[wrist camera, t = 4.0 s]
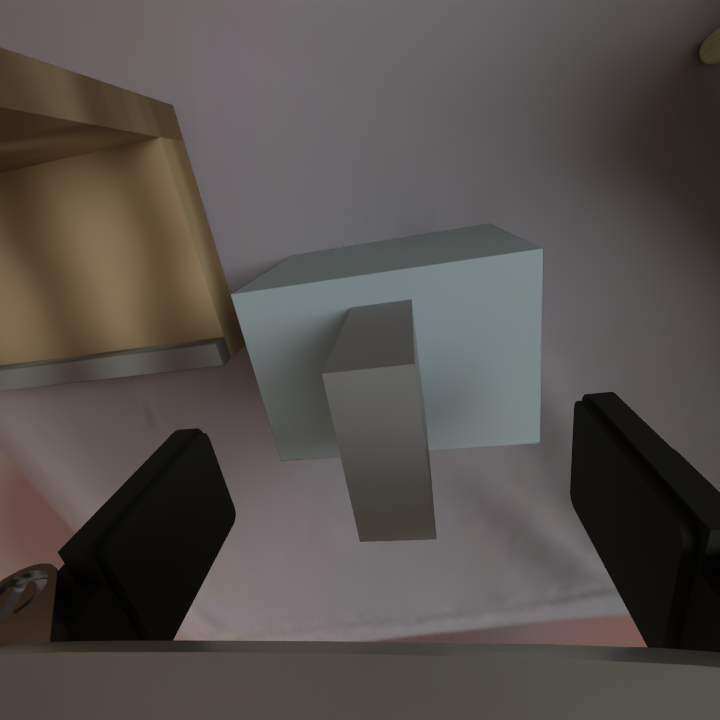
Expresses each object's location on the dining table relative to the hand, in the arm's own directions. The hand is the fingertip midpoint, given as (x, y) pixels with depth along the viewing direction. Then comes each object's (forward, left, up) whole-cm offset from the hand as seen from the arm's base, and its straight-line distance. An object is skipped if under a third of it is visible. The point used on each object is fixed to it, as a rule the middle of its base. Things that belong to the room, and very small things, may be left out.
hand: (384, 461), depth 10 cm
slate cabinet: (0, 0, -12) cm, 12 cm away
